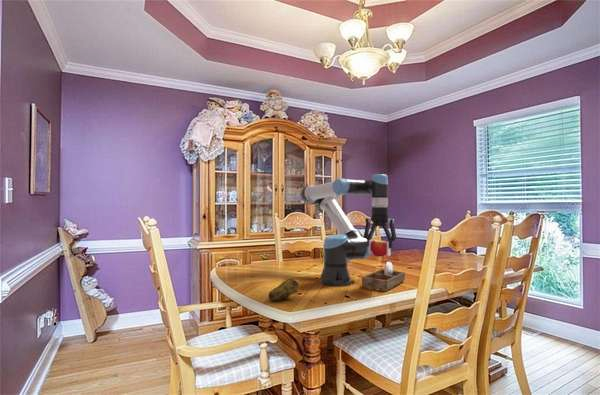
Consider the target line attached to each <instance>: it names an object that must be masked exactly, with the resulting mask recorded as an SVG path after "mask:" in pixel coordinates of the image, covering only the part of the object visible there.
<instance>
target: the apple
mask: <svg viewBox="0 0 600 395" xmlns="http://www.w3.org/2000/svg"><path fill="white" fill-rule="evenodd" d="M375 236H376V237H377V239H375V240H374V239H373V241H372V242H371V251H372V254H373V256H376V257H381V258H382V257H385V256H387V242H388V241H386V240H380V238H379V237H378V235H377V234H376V235H375Z"/></svg>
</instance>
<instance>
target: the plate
mask: <svg viewBox="0 0 600 395" xmlns="http://www.w3.org/2000/svg"><path fill="white" fill-rule="evenodd" d="M385 263H386V264H385V266H384V275H391V276H392V273H393V271H394V270H393V268H394V266H393V263H392V262H391V261H387V262H385Z"/></svg>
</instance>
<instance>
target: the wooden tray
mask: <svg viewBox="0 0 600 395" xmlns="http://www.w3.org/2000/svg"><path fill="white" fill-rule="evenodd" d="M384 269H385V268H384ZM384 269H383V268H382V269H379V270H376V271H374V272H372V273H369V274H366V275H364V276H362V277H361V285H362V287H364V288H365V289H369V288H370V289H371V290H375V289H376V291H378V289H379V291H380V290H382V291H381V292H388V291H390V290H391V289H393V288H395V287H396V285H397V286H399V285H400V283H401V282H402V283H404V282H403V281H404V280H406V273H405V272H403V271H398V270H397V271H396V270H393V273H392V276H391V275H384ZM402 283H401V284H402ZM398 284H399V285H398ZM394 286H395V287H394ZM389 289H390V290H389ZM387 290H388V291H387Z"/></svg>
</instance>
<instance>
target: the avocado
mask: <svg viewBox="0 0 600 395" xmlns="http://www.w3.org/2000/svg"><path fill="white" fill-rule="evenodd" d="M298 290H299V283H298V281H297V280H295V279H293V278H289V279H286V280H284V281H283V282H282V283H280V284H278V286H277V287H274V288H273V289H271V290H270V291H269V292H268V298H269V300H270V301H272V302H276V301H281V300H285V299H287V298H289V297H290V296H292V295H294V294H297V293H298Z"/></svg>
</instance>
